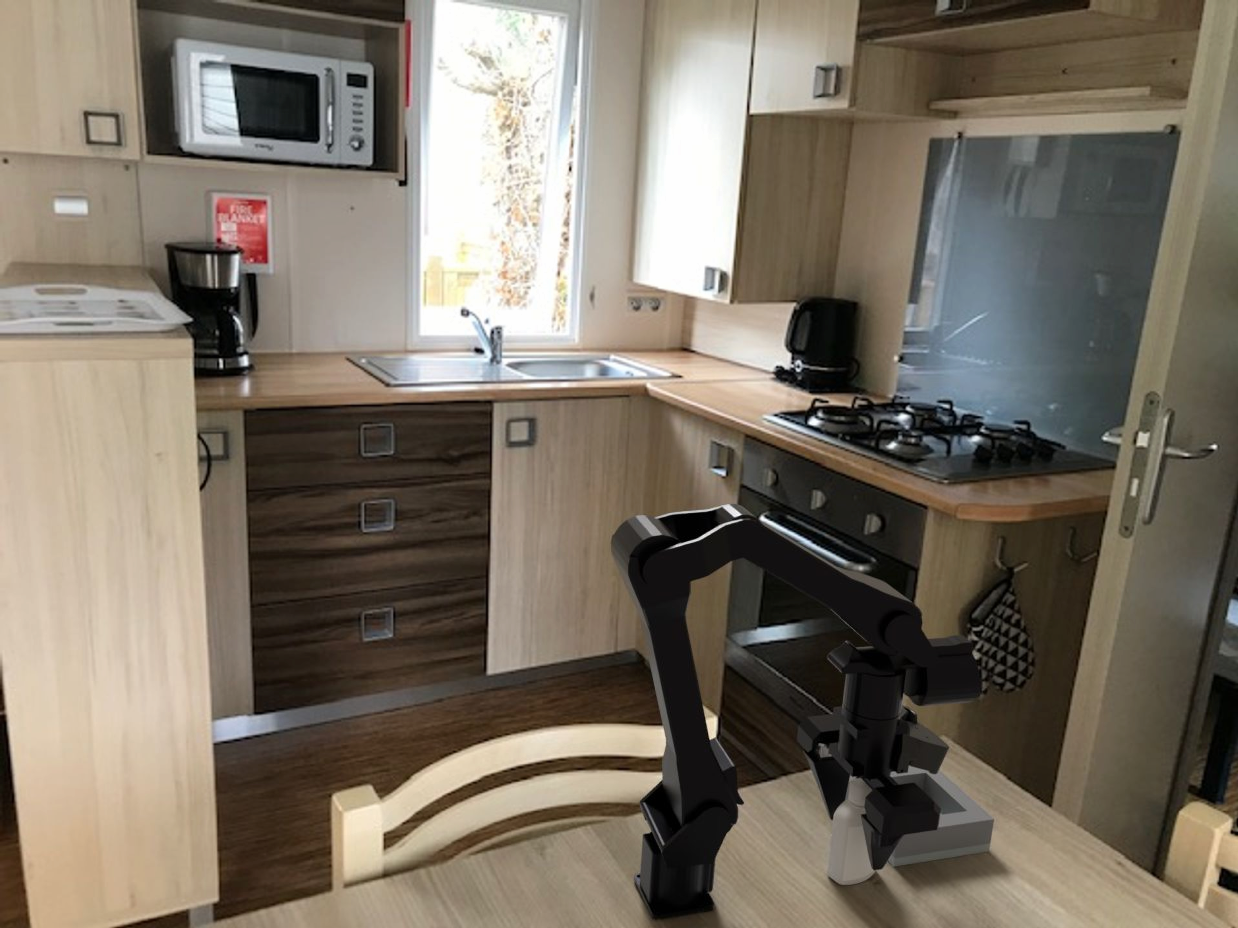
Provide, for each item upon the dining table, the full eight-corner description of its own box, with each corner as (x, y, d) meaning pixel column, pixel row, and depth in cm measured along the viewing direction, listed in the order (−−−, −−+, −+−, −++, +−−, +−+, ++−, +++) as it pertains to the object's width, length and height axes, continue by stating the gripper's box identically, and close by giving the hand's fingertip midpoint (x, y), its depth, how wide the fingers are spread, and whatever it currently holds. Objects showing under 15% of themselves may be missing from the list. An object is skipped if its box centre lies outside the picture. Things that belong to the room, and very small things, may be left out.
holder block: (893, 866, 108) (897, 833, 107) (838, 803, 119) (841, 773, 118) (989, 851, 111) (994, 818, 110) (926, 791, 122) (930, 761, 121)
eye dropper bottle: (884, 886, 104) (897, 782, 101) (830, 886, 104) (842, 782, 101) (871, 860, 108) (884, 759, 106) (819, 860, 108) (831, 759, 105)
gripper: (998, 744, 95) (976, 888, 99) (892, 660, 113) (876, 785, 116) (895, 757, 92) (876, 905, 96) (801, 668, 109) (788, 797, 113)
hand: (855, 843), depth 105 cm, fingers closed on eye dropper bottle, 8 cm apart
